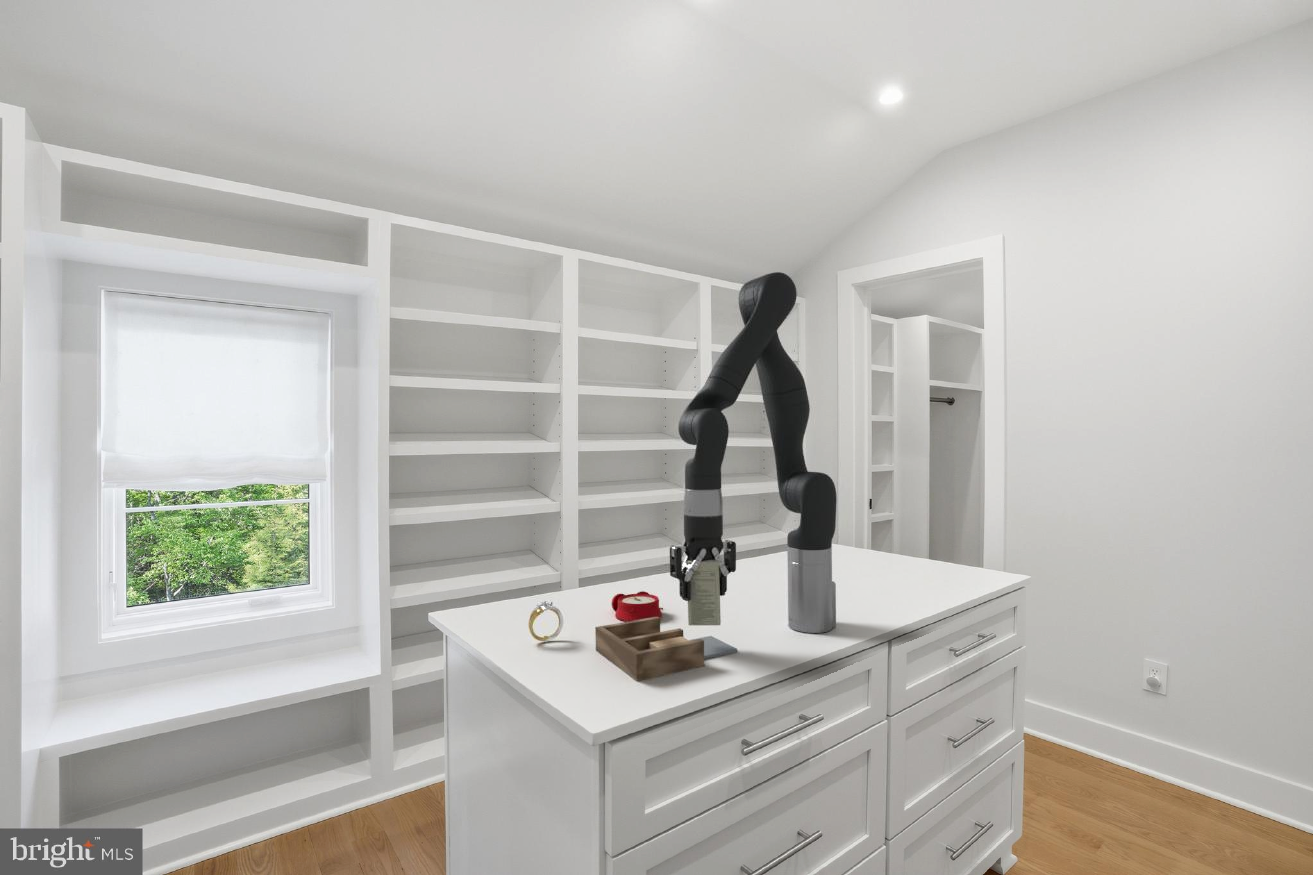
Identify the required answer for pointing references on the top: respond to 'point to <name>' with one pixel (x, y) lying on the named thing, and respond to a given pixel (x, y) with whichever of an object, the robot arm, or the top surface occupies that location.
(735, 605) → the top surface
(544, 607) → the engagement ring
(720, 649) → the slate mat
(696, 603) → the skincare box
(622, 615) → the alarm clock
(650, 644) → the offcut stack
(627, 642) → the walnut rack
